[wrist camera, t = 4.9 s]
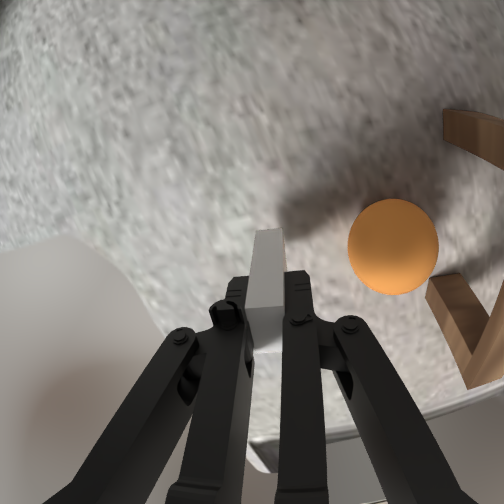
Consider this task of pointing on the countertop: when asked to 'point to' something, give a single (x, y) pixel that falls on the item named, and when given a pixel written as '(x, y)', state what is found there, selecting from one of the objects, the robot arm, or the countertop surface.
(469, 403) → the countertop surface
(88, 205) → the countertop surface
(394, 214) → the ball
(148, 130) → the countertop surface
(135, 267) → the countertop surface
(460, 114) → the bridge
